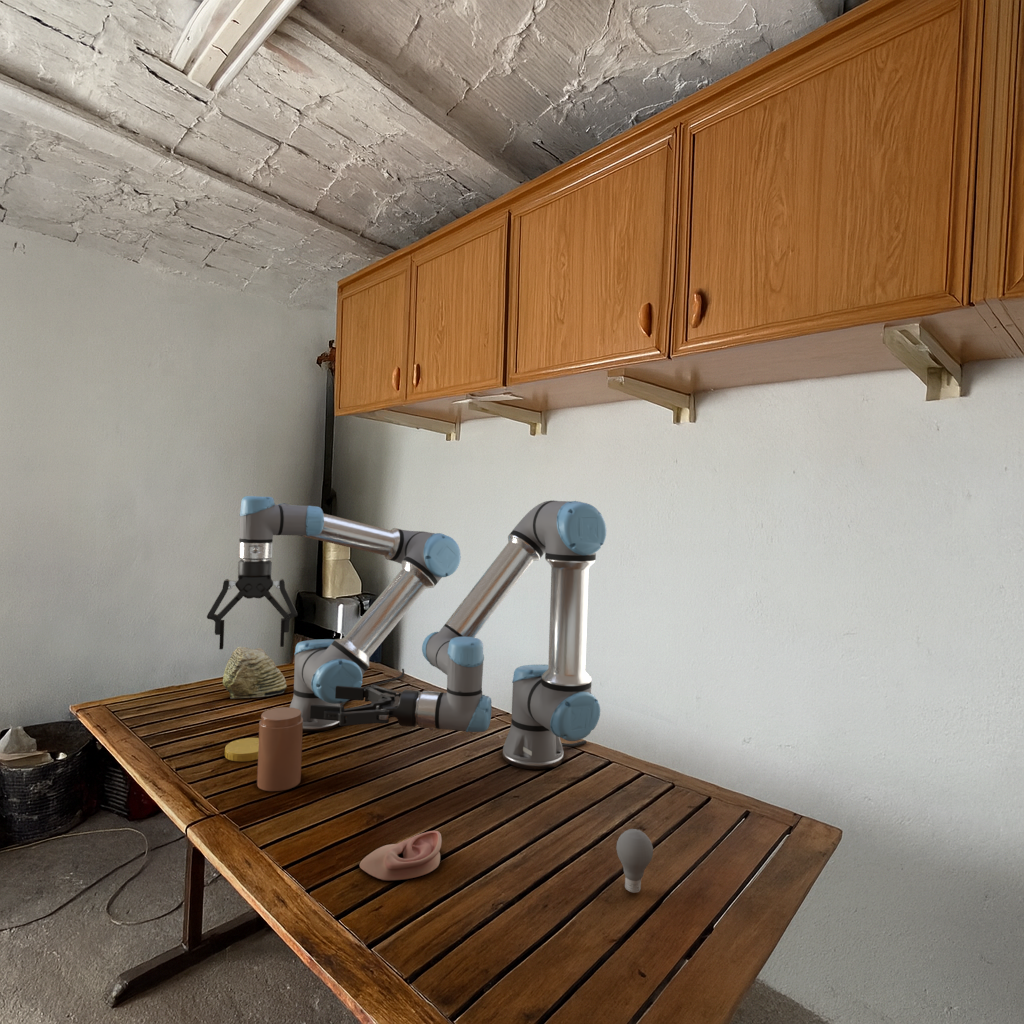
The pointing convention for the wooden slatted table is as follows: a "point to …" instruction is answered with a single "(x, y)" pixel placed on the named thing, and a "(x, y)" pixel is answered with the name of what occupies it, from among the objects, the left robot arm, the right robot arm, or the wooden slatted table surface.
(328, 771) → the wooden slatted table surface
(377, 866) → the anatomical model
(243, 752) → the lid
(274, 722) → the jar
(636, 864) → the light bulb
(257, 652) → the fossil
